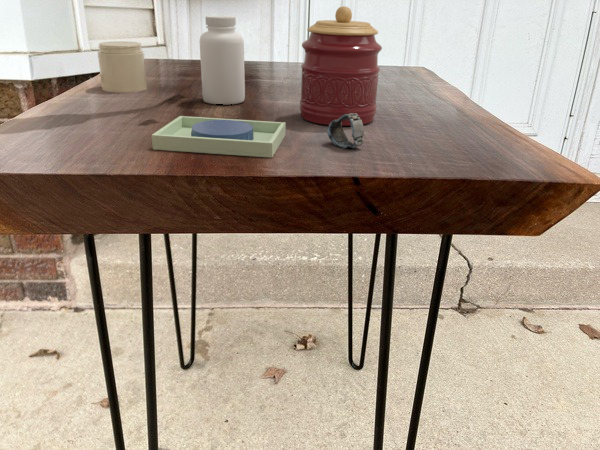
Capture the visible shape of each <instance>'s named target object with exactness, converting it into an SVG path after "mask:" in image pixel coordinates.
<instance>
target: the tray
mask: <svg viewBox="0 0 600 450" xmlns="http://www.w3.org/2000/svg"><path fill="white" fill-rule="evenodd" d="M210 120H235V121H242V122H246V123H248V124H250V125H252V126H253V140H237V139H222V138H207V137H192V136H191V131H192V126H193V125H194V124H196V123H199V122H203V121H210ZM286 123H287V122H284V121H283V122H281V121H270V120H269V121H267V120H265V121H264V120H252V119H237V118H236V119H235V118H219V117H218V118H217V117H202V116H188V115H187V116H186V115H179V116H178V117H176V118H174V119H173V120H172V121H170V122H169V123H167V124H165V125H164V126H163V127H161V128H160V129H158V130H157V131H155V132H154V133H152V134H151V145H152V150H153V151H155V150H156V151H169V152H181V153H182V152H183V153H197V154H198V153H199V154H214V155H227V156H238V157H239V156H240V157H254V158H255V157H256V158H271V159H272V158H274V156H275V153H276V152H277V151H278V149H279V147H280V146H281V144H282V143H283V140H284V138H285V137H286V130H287V129H286V127H287V125H286Z"/></svg>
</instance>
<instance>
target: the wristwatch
mask: <svg viewBox="0 0 600 450" xmlns="http://www.w3.org/2000/svg"><path fill="white" fill-rule="evenodd" d="M347 119H349V121H350V123H351V126H350V127H351V128H350V129H351V133H352V134H351V136H352V139H353V142H351V141H350V140H349V138H348V136H347V135H346V133H345V131H344V129H343V126H342V122H341V121H343V120H345V121H347ZM326 133H327V136H328V139H329V140H330V142H331V143H332V144H333V145H334V146H338V147H340V148H343V149H347V148H351V149H354V148H358V147H361V146H362V145H363V144H364V143H365V139H364V136H365V128H364V124H363V123H362V120H361V119H360V117H359V116H358V114H356V113H354V114H353V113H351V114H344V115H343V116H341V117H340V118H339V119H337V120H333V121H332V122H331V123H330V124H329V125H328V127H327V130H326Z"/></svg>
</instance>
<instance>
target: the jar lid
mask: <svg viewBox="0 0 600 450" xmlns="http://www.w3.org/2000/svg"><path fill="white" fill-rule="evenodd" d="M191 136H192V137H207V138H222V139H237V140H253V126H252V125H250V124H248V123H246V122H242V121H235V120H210V121H203V122H199V123H196V124H194V125H193V126H192V131H191Z"/></svg>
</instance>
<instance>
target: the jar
mask: <svg viewBox="0 0 600 450" xmlns="http://www.w3.org/2000/svg"><path fill="white" fill-rule="evenodd" d="M98 49H99V50H98V51H97V60H98V67H99V74H100V82H101V90H102V91H104V92H106V93H107V92H108V93H118V94H120V93H121V94H122V93H123V94H124V93H125V94H126V93H138V92H143V91H146V90H148V80H147V68H146V57H145V51H144V50H143V49H142V43H141V42H137V41H123V40H122V41H121V40H120V41H114V40H113V41H102V42H99V43H98Z"/></svg>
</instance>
